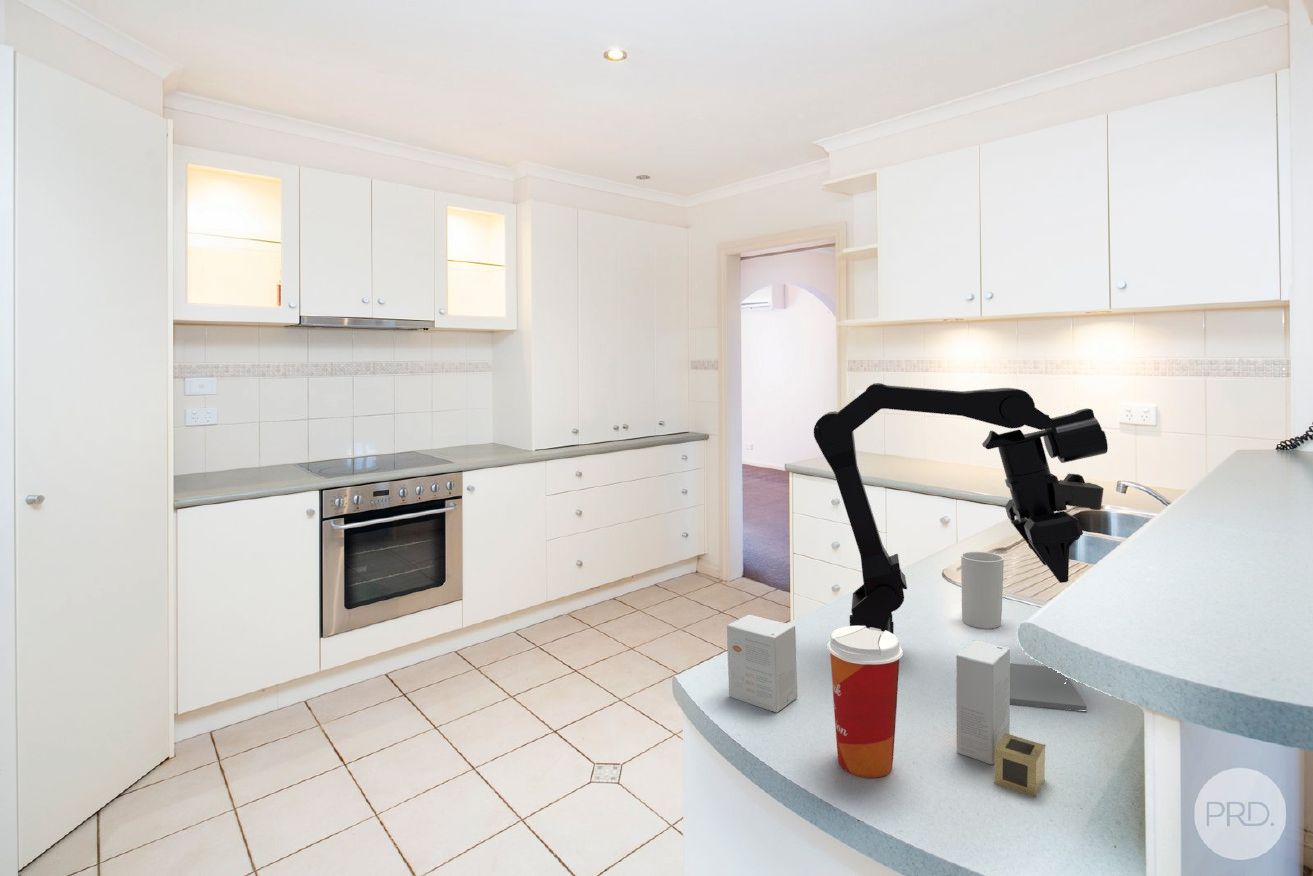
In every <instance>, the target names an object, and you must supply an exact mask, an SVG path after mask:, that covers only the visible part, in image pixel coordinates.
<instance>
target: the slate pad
mask: <svg viewBox="0 0 1313 876" xmlns="http://www.w3.org/2000/svg"><path fill="white" fill-rule="evenodd" d="M1048 667H1049V666H1048ZM1048 667H1047V665H1036V664H1035V665H1034V664H1026V663H1025V664H1024V663H1023V664H1021V663H1013V662H1010V705H1016V706H1017V705H1018V706H1026V707H1035V708H1043V707H1045V708H1044V709H1052V708H1055V710H1062V709H1067V710H1066V711H1069V710H1068V709H1071V710H1070V711H1072V710H1087V711H1088V705H1087V704H1086V701H1084V699H1083V698H1082V696H1081V694H1080V693H1079V691H1077V689H1076V687H1075V685H1074V684H1073V682H1072V681H1071V680H1070V678H1069V677H1068V678H1067V677H1065V676H1064V675H1062V674H1061V673H1057V671H1055V670H1053V669H1052V668H1048ZM1066 679H1067V680H1066ZM1065 682H1066V684H1064V683H1065ZM1056 708H1058V709H1056Z"/></svg>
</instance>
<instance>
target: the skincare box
mask: <svg viewBox="0 0 1313 876" xmlns="http://www.w3.org/2000/svg"><path fill="white" fill-rule="evenodd" d="M955 658H956V659H955V660H956V680H955V681H956V752H957V754H960V755H963V756H965V757H969V758H972V759H974V760H978V761H980V762H984V763H986V764H989V765H995V747H996V746H997V744H998V743H999V741H1000V740H1001V738H1002V737H1003V735H1004V734H1005V733H1006V734H1010V733H1011V732H1010V730H1011V729H1010V728H1011V726H1010V724H1011V723H1010V721H1011V719H1010V717H1011V716H1010V715H1011V713H1010V712H1011V711H1010V710H1011V709H1010V708H1011V707H1010V706H1011V704H1010V663H1011V649H1010V648H1009V647H1006V646H1001V645H998V644H993V643H989V642H987V641H986V642H985V641H981V640H976V639H975V640H972V641H971V642H970V643H969V644H967V646H966V647H964V649H962V650H961V651H960V652H959V653H958V654H956V657H955ZM1010 735H1011V734H1010Z"/></svg>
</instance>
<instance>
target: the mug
mask: <svg viewBox="0 0 1313 876" xmlns="http://www.w3.org/2000/svg"><path fill="white" fill-rule="evenodd" d="M960 557H961V558H960V561H961V563H960V564H961V565H960V566H961V567H960V571H961V573H960V574H961V575H960V577H961V578H960V579H961V617H962V619H961V620H962V623H964V624H965V625H967V626H970V627H973V628H977V629H983V630H984V629H987V630H988V629H991V630H992V628H993V629H997V627H998V628H999V627H1001V626H1002V615H1003V614H1002V613H1003V594H1004V593H1003V592H1004V591H1003V589H1004V586H1003V585H1004V565H1005V562H1004V560H1005V559H1004V557H1003V556H1002V555H1000V554H997V553H994V552H988V551H987V552H986V551H966V552H963V553H961V555H960Z"/></svg>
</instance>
